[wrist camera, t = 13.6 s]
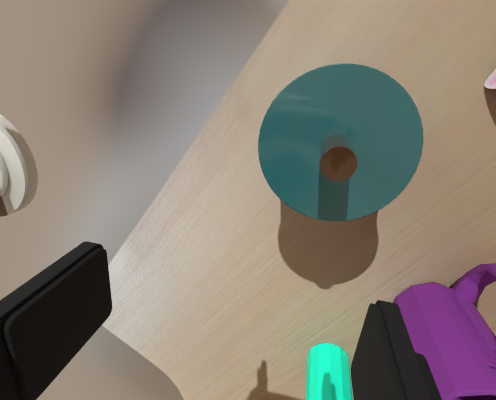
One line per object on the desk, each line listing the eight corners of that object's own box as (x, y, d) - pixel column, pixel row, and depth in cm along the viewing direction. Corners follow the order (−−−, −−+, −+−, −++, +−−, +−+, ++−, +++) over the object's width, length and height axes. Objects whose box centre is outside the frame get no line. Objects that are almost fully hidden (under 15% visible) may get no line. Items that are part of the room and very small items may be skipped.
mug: (375, 317, 42) (401, 433, 28) (449, 227, 35) (529, 320, 22) (439, 348, 41) (496, 480, 28) (525, 262, 35) (654, 379, 21)
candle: (308, 340, 46) (304, 422, 35) (350, 346, 44) (360, 433, 34) (307, 369, 48) (302, 455, 37) (347, 376, 47) (355, 467, 36)
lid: (233, 158, 28) (213, 176, 22) (326, 27, 22) (328, 12, 17) (341, 241, 28) (345, 277, 23) (456, 132, 23) (495, 148, 18)
